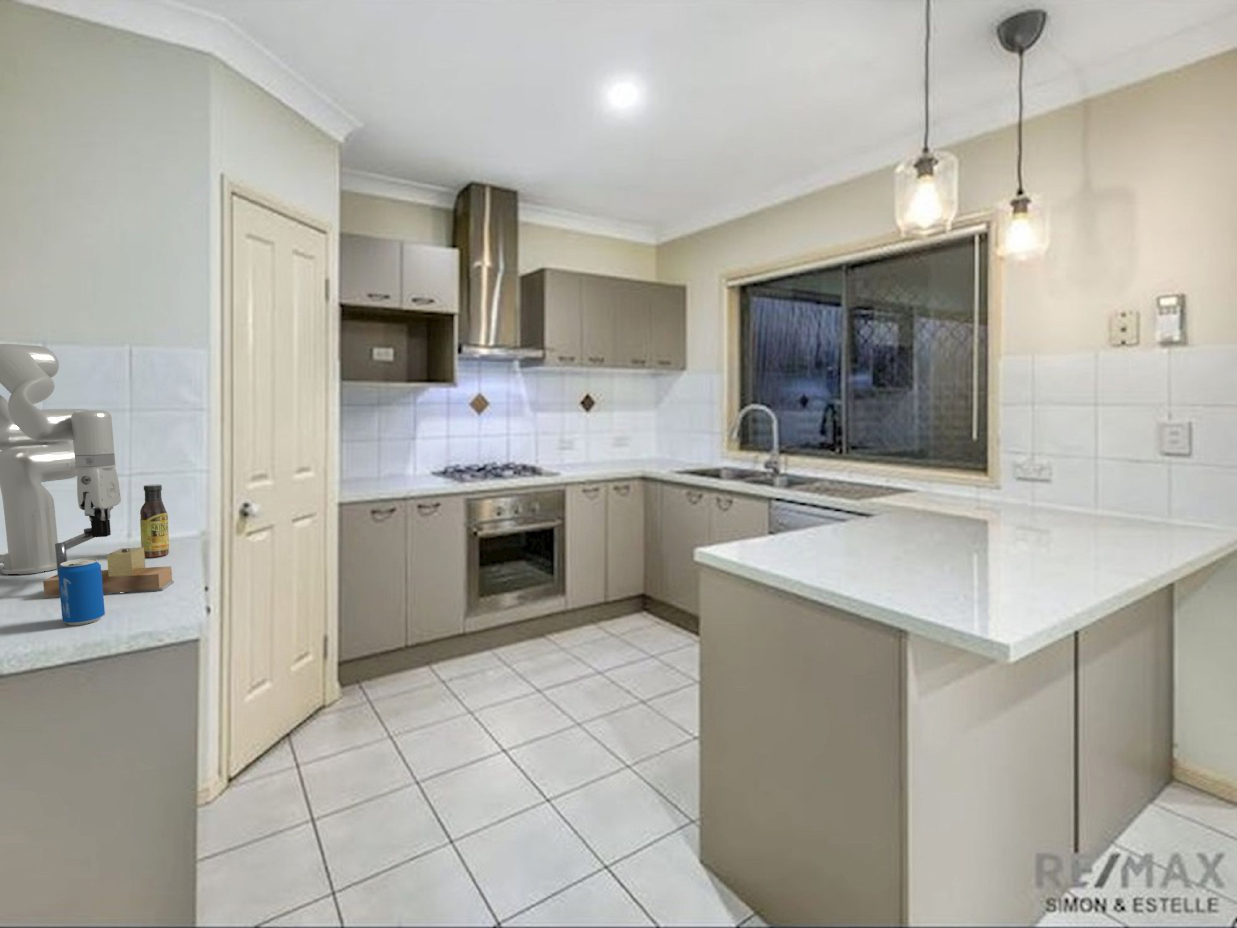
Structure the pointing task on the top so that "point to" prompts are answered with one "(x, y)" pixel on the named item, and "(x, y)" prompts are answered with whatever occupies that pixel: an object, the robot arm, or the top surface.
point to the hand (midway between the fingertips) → (101, 536)
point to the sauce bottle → (154, 523)
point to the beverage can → (81, 591)
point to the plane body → (122, 582)
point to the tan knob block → (126, 561)
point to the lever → (70, 546)
